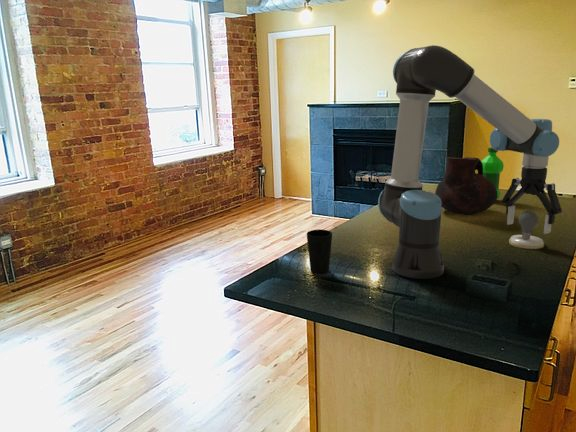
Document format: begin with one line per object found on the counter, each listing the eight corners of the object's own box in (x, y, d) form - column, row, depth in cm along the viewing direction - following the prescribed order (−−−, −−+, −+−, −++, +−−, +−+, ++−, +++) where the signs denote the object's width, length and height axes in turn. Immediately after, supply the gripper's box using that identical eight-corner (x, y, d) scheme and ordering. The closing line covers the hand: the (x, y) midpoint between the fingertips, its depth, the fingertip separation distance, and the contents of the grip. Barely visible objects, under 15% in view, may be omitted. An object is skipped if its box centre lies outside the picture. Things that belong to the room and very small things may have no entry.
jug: (507, 213, 203) (513, 155, 197) (471, 223, 190) (476, 161, 183) (458, 202, 223) (461, 149, 217) (422, 211, 210) (424, 155, 203)
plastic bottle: (504, 202, 221) (509, 149, 215) (481, 203, 221) (485, 149, 215) (495, 198, 231) (499, 146, 224) (473, 198, 231) (477, 147, 225)
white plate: (527, 250, 157) (527, 245, 157) (502, 241, 167) (502, 236, 167) (551, 246, 161) (551, 241, 161) (525, 237, 171) (525, 232, 170)
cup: (324, 277, 140) (324, 238, 137) (302, 272, 144) (301, 234, 141) (336, 268, 146) (336, 231, 143) (314, 264, 150) (314, 228, 147)
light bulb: (538, 241, 161) (542, 213, 158) (520, 241, 161) (524, 213, 158) (530, 236, 166) (534, 208, 164) (513, 236, 167) (516, 208, 164)
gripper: (579, 170, 149) (570, 235, 154) (507, 161, 169) (502, 218, 175) (566, 172, 145) (557, 239, 150) (494, 163, 165) (489, 222, 171)
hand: (527, 228), depth 163 cm, fingers open, 13 cm apart
